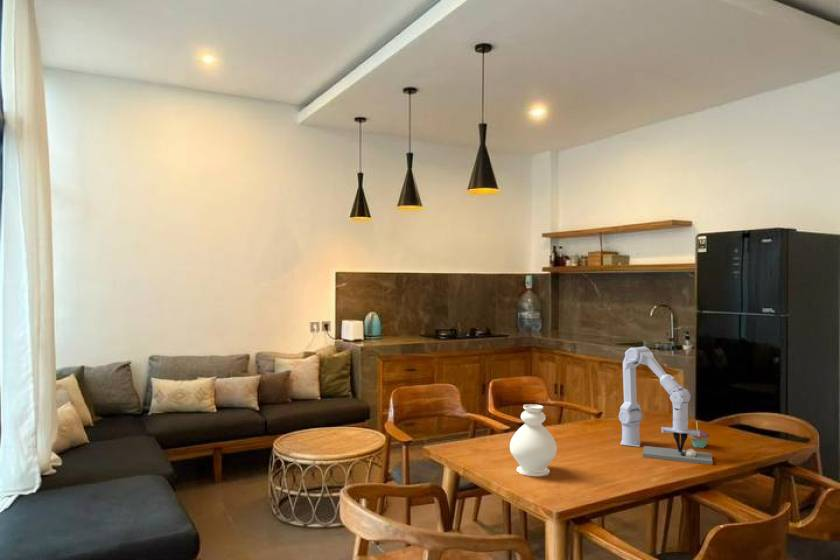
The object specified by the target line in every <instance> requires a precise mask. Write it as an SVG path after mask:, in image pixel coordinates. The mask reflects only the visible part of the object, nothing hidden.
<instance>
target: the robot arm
mask: <svg viewBox="0 0 840 560" xmlns="http://www.w3.org/2000/svg"><path fill="white" fill-rule="evenodd" d="M640 364H641V365H644V366H647V367H648V368H649V369H650V370H651V371H652V372H653V373H654V374H655V375H656V376H657V378H658V379H659V384H660V385H661V386H662V387H663V389H664V390H665V391H666V392H667V394H668V395H669V400H670V402H671V403H672V405H671V406H672V427H671V426H669V427H667V426H666V427H665V426H661V427H660V428H661V434H664V433H667V434H673V438H674V440H675V442H676V446H677V449H678V451H679V452H682V450H684V449H683V448H684V445H685V443H686V441H687V438H688V436H689V435H696V436H700V431H699V430H700V429H698V430H697V429H691V428H689V402H690V400H692V399H691V397H692V396H691V393H690V391H689V390H688V389H687V388H684V387H683V386H682V385H680V384H679V383H678V381H677V380H676V377H675V376H673V375H672V374H668V373H667V372H665V370H664V368H663V367H662V366H661V364H660V363H659V362H658V361H657V360H656V358H655V356H654V353H653V352H652V351H651V349H649V347H648V346H638V347H629V348H628V349H627V350H626V351H625V352H624V358H623V361H622V381H623V382H622V385H623V386H622V387H623V403H622V404H621V406H620V407H619V413H618V419H619V421H620V422H621V423H620V424H621V441H620V445H621V446H629V447H637V448H639V447H640V446H641V443H642V441H641V440H640V424H641V423H640V422H641V421H642V420H643V416H644V415H643V412H642V409H641V405H640V404H639V403H638V397H637V396H638V395H637V369H636V368H637V367H638V366H639V365H640Z"/></svg>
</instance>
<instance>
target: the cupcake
mask: <svg viewBox="0 0 840 560" xmlns="http://www.w3.org/2000/svg"><path fill="white" fill-rule="evenodd" d="M698 423H699V422H698V421H697V419H696V420H695V425H696V426H695V428H696V430H699V431H700V436H696V435H688V439H690V440H691V443H692V446H693V447H694V448H697V447H699V448H698V449H703V448H704V447H705V448H706V445H707V443H708V442H709V441H710V434H709V433H708V432H706V431H705V430H702V429H699V424H698Z"/></svg>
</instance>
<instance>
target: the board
mask: <svg viewBox="0 0 840 560" xmlns="http://www.w3.org/2000/svg"><path fill="white" fill-rule="evenodd" d="M686 450H687V449H682V452H679V451H678V448H669V447H668V448H667V447H658V446H657V447H656V446H649V445H647V446H646V445H644V446H643V451H642V458H648V459H649V458H650V459H656V460H664V459H665V461H673V460H675V461H676V462H683V463H691V464H699V463H701V464H700V465H708V464H709V465H710V466H714V465H713V463H714V462H713V456H712V453H711V452H704V451H697V450H695V452H696V457H688V456H686ZM683 455H684V456H683ZM675 461H674V462H675Z"/></svg>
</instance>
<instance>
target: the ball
mask: <svg viewBox="0 0 840 560" xmlns="http://www.w3.org/2000/svg"><path fill="white" fill-rule="evenodd" d="M685 450H686V456H688V457H696V452H695V451H696V450H695V449H694V448H687V449H685Z"/></svg>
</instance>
